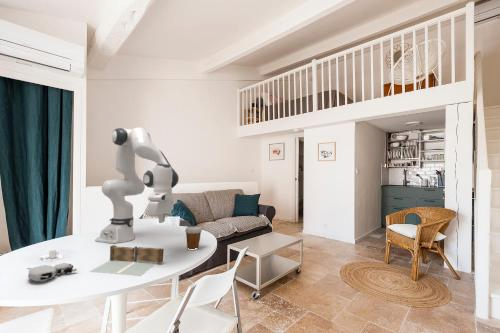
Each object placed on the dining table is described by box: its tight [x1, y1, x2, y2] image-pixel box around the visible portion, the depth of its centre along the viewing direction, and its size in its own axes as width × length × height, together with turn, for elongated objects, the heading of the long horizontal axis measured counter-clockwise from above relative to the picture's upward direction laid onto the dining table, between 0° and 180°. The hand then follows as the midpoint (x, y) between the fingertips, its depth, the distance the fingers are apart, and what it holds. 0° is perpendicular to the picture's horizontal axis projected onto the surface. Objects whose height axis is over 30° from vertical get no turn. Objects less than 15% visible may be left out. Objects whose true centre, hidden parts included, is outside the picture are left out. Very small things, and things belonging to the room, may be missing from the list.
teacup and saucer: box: [40, 249, 63, 262], centre depth 122 cm, size 9×8×4 cm
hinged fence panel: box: [137, 246, 165, 264], centre depth 118 cm, size 13×2×6 cm, turn 83°
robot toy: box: [26, 262, 78, 283], centre depth 102 cm, size 12×4×15 cm
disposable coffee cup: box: [184, 226, 203, 249], centre depth 143 cm, size 10×10×12 cm
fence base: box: [109, 244, 138, 262], centre depth 120 cm, size 14×2×7 cm, turn 83°
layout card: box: [89, 260, 158, 277], centre depth 115 cm, size 24×20×1 cm
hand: (161, 222), depth 124 cm, fingers closed
